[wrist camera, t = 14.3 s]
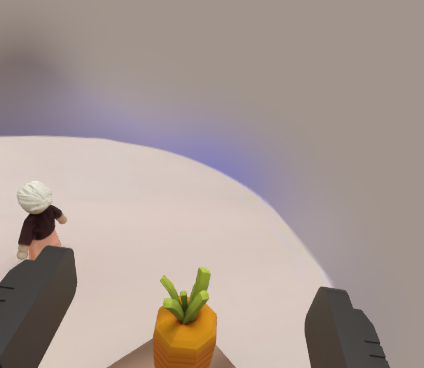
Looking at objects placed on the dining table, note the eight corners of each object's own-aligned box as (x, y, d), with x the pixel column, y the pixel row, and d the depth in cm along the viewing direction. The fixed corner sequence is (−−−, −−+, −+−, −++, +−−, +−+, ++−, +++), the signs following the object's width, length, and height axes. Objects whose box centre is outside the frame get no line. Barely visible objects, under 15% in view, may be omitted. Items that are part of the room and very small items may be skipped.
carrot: (156, 436, 27) (164, 319, 19) (145, 377, 31) (147, 260, 23) (212, 415, 29) (240, 301, 21) (195, 362, 33) (213, 249, 25)
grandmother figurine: (46, 247, 44) (31, 165, 38) (75, 250, 45) (65, 169, 38) (15, 293, 38) (-10, 203, 31) (48, 297, 38) (31, 208, 31)
